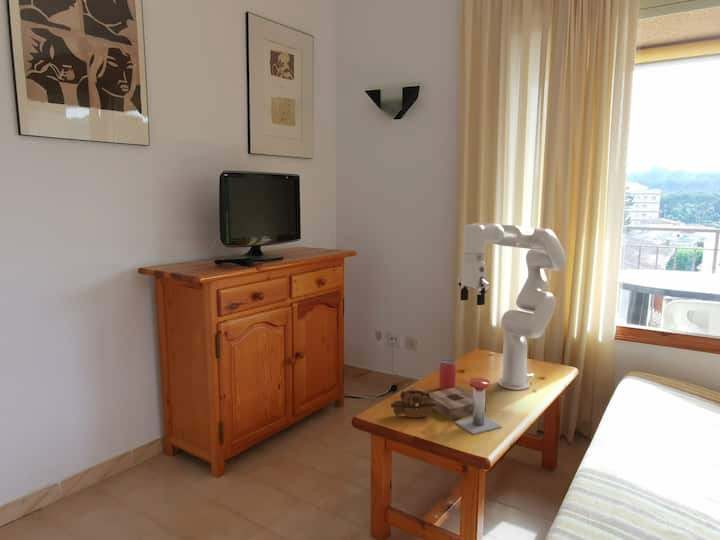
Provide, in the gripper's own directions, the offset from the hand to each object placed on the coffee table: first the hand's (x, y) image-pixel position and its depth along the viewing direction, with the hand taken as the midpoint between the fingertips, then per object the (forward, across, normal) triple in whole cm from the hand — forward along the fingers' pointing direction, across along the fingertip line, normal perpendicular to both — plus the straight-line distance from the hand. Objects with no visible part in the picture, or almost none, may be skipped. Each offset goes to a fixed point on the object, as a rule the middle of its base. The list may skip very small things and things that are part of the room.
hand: (472, 302), depth 195 cm
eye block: (+38, -4, +10) cm, 40 cm away
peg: (+38, -20, +12) cm, 44 cm away
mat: (+38, -20, +12) cm, 45 cm away
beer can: (+38, +12, +2) cm, 40 cm away
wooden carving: (+39, -4, +28) cm, 48 cm away
